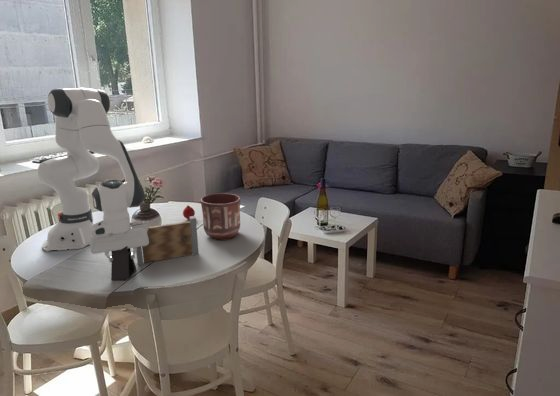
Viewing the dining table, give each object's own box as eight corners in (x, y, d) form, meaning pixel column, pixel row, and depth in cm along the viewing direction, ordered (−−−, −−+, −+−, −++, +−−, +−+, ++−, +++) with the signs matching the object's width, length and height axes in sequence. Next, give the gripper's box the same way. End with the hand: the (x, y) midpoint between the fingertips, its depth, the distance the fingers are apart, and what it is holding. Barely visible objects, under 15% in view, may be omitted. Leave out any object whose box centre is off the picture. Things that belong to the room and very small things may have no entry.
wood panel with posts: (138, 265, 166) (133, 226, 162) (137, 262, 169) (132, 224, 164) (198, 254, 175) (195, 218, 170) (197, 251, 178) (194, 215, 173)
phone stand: (127, 280, 154) (123, 250, 151) (111, 280, 154) (106, 250, 151) (136, 269, 163) (132, 240, 159) (121, 269, 163) (117, 240, 159)
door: (144, 264, 166) (140, 231, 162) (143, 261, 169) (139, 228, 165) (193, 256, 173) (191, 223, 169) (192, 252, 176) (189, 221, 172)
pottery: (206, 245, 184) (203, 205, 179) (200, 231, 200) (197, 194, 195) (245, 240, 189) (244, 201, 184) (236, 227, 205) (235, 191, 200)
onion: (196, 217, 219) (194, 203, 216) (194, 221, 213) (193, 206, 211) (184, 218, 219) (183, 203, 216) (182, 222, 213) (181, 206, 211)
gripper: (146, 218, 159) (150, 251, 163) (87, 226, 152) (92, 261, 156) (148, 223, 154) (152, 258, 158) (86, 231, 146) (92, 268, 150)
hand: (122, 259), depth 157 cm, fingers closed on phone stand, 6 cm apart
